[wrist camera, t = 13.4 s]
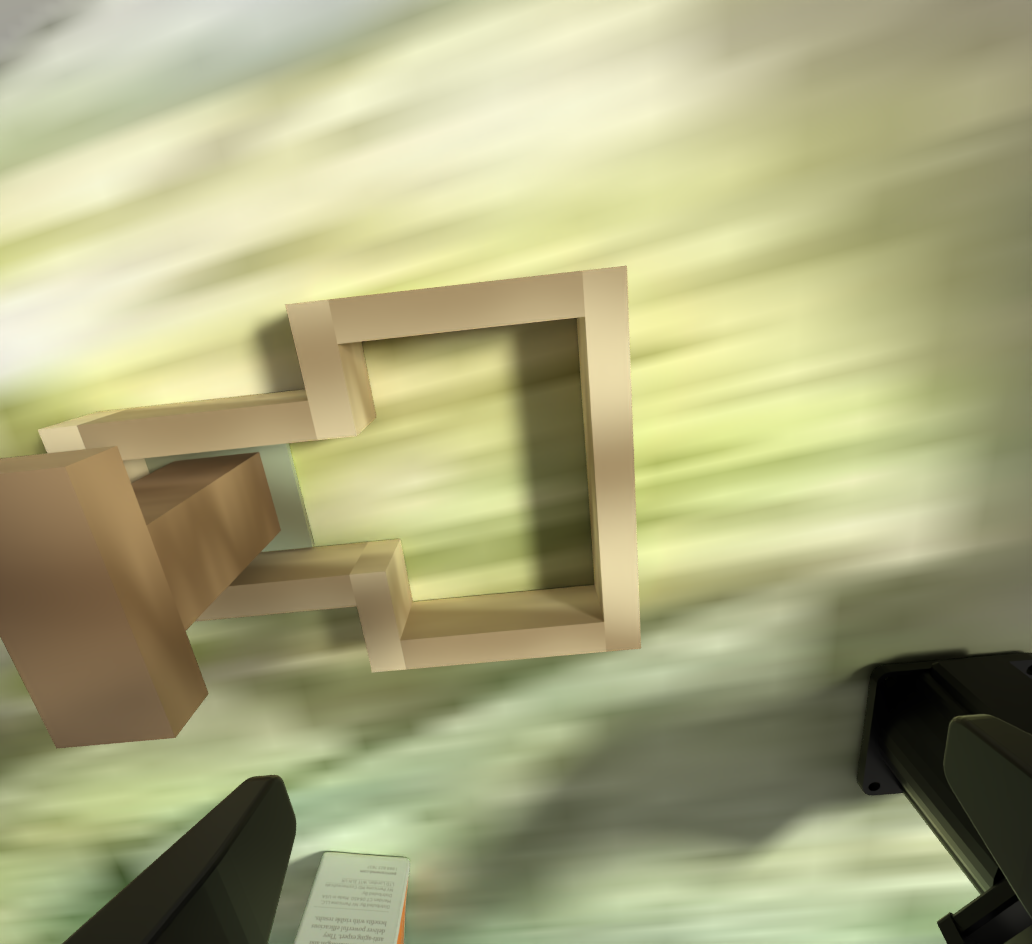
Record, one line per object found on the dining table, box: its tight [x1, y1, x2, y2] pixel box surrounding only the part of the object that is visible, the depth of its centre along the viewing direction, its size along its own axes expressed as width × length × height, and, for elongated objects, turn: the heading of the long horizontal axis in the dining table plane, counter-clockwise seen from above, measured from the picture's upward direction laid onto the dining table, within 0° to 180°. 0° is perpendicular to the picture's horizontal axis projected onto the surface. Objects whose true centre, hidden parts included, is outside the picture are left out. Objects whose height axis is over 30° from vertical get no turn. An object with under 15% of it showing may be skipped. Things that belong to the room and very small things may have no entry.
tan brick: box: [0, 446, 281, 748], centre depth 16 cm, size 7×3×8 cm, turn 6°
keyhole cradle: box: [38, 266, 641, 672], centre depth 18 cm, size 12×18×2 cm
